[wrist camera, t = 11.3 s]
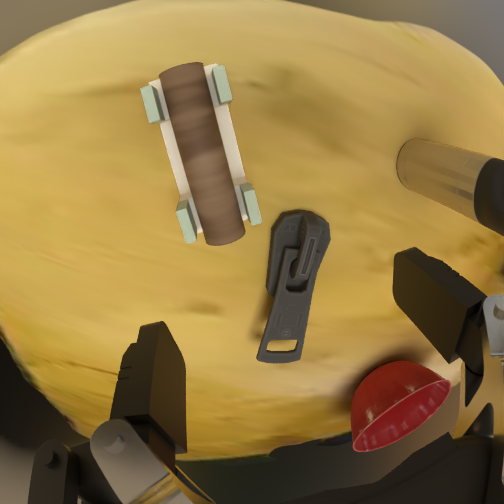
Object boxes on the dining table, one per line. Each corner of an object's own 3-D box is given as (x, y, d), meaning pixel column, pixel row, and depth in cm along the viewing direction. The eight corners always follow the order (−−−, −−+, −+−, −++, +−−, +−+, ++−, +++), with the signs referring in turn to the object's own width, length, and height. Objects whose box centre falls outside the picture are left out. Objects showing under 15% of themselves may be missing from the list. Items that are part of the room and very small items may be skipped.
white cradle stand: (150, 83, 31) (135, 72, 23) (216, 65, 32) (220, 48, 24) (193, 231, 41) (191, 259, 33) (253, 214, 41) (266, 238, 33)
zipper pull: (252, 364, 46) (288, 220, 36) (246, 338, 51) (276, 205, 42) (302, 363, 47) (349, 229, 38) (292, 339, 53) (330, 214, 44)
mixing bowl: (438, 343, 66) (467, 378, 52) (382, 409, 75) (402, 444, 62) (375, 334, 57) (409, 383, 44) (313, 412, 67) (330, 458, 53)
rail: (162, 79, 27) (155, 72, 23) (202, 68, 27) (202, 59, 23) (205, 234, 36) (206, 249, 32) (242, 223, 36) (248, 238, 32)
